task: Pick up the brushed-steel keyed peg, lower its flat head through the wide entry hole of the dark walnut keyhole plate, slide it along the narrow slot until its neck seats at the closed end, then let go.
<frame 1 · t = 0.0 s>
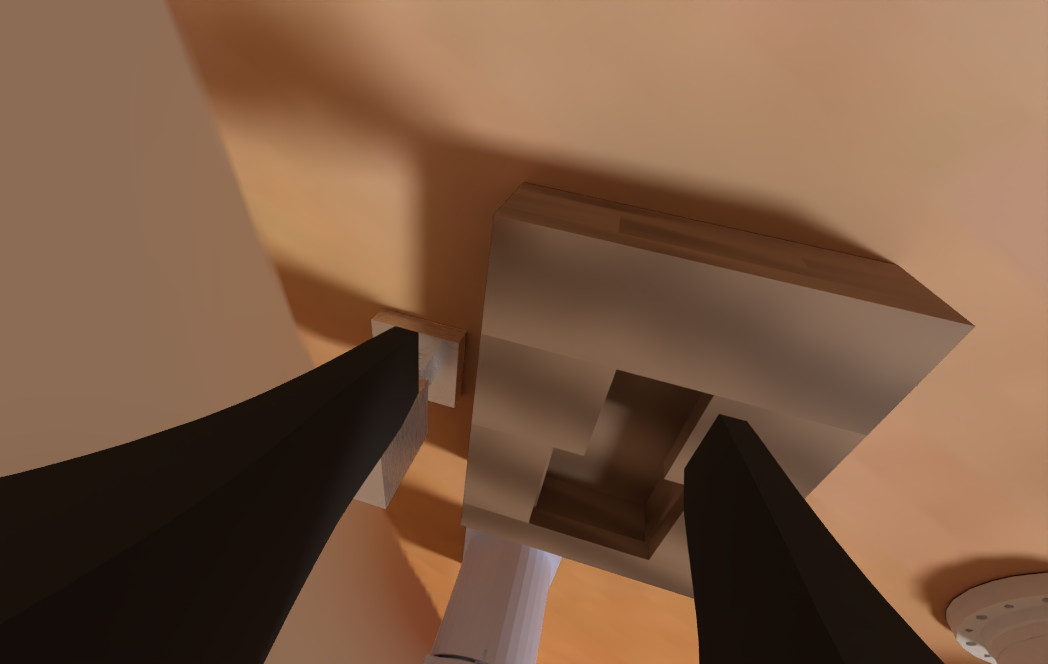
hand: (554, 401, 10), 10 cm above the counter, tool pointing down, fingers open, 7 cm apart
keyed peg: (423, 353, 24), on the counter
keyhole plate: (628, 396, 22), on the counter
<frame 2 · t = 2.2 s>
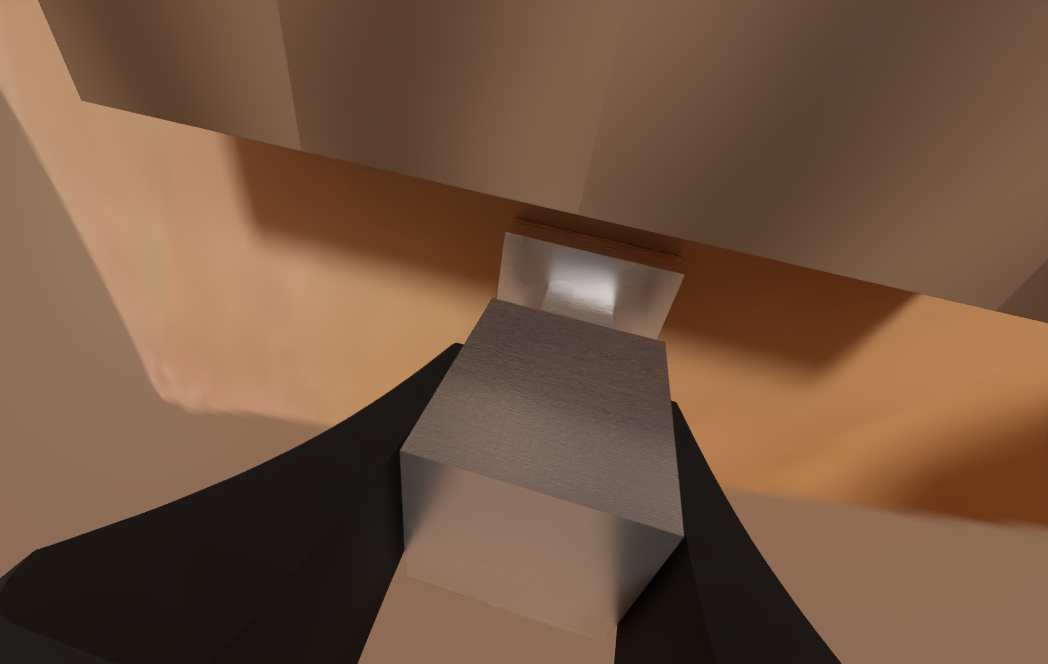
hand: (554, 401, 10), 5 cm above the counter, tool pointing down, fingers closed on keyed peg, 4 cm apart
keyed peg: (577, 307, 13), on the counter, touching gripper
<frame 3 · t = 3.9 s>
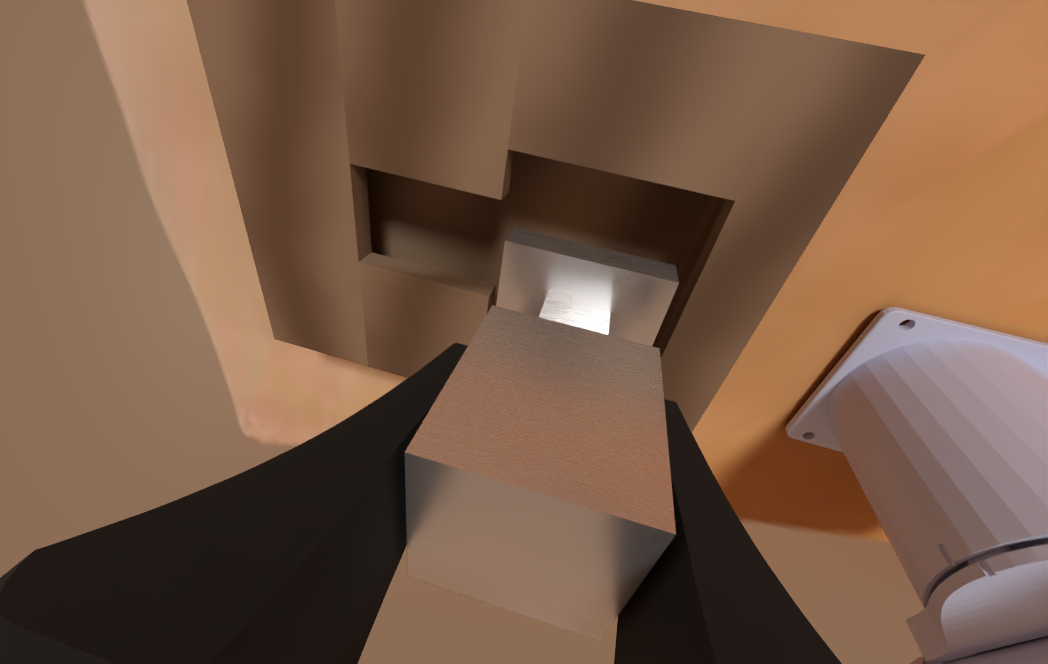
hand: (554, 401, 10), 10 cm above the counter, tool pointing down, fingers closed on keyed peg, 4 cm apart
keyed peg: (575, 314, 14), point 6 cm above the counter, touching gripper
keyhole plate: (511, 211, 18), on the counter
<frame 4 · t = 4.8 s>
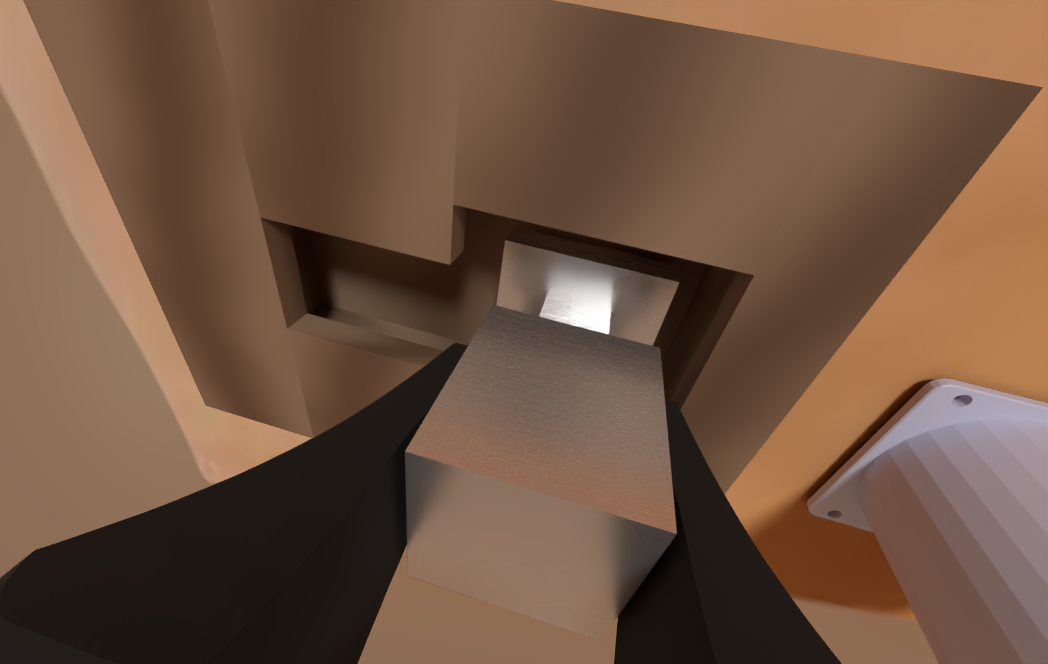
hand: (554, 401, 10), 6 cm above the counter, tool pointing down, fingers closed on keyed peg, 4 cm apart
keyed peg: (575, 313, 14), point 2 cm above the counter, touching gripper
keyhole plate: (479, 258, 15), on the counter
when the fingers open (6 cm above the counter, at t = 8.0 s): keyed peg stays where it is, resting on keyhole plate.
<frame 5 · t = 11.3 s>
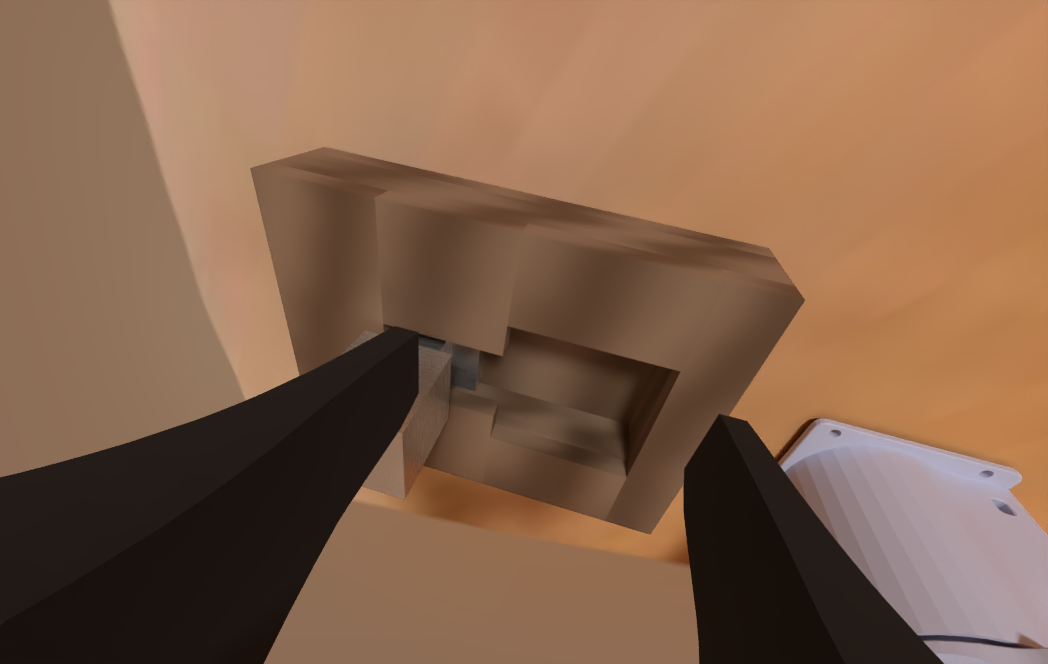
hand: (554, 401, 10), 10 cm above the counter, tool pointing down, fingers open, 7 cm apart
keyed peg: (442, 330, 22), point 1 cm above the counter, touching keyhole plate
keyhole plate: (511, 332, 22), on the counter
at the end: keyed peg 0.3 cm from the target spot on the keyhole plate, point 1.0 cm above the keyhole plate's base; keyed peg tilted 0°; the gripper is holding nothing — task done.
